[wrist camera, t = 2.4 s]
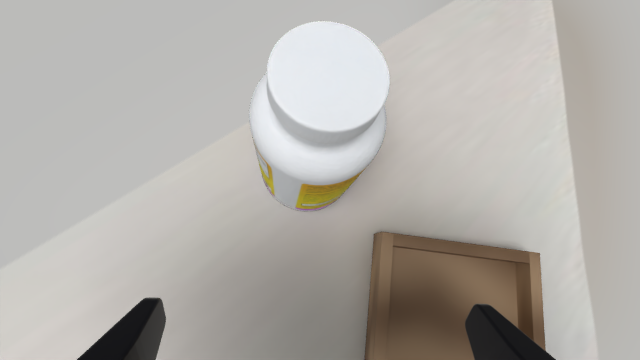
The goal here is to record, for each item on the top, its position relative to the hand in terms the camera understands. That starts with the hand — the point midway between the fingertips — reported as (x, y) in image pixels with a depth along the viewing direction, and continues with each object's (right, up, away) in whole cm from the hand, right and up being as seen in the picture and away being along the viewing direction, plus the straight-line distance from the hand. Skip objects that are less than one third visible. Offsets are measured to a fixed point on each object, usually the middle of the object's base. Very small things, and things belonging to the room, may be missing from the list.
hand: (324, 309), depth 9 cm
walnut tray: (+9, -7, +13) cm, 17 cm away
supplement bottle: (-1, +4, +15) cm, 16 cm away
